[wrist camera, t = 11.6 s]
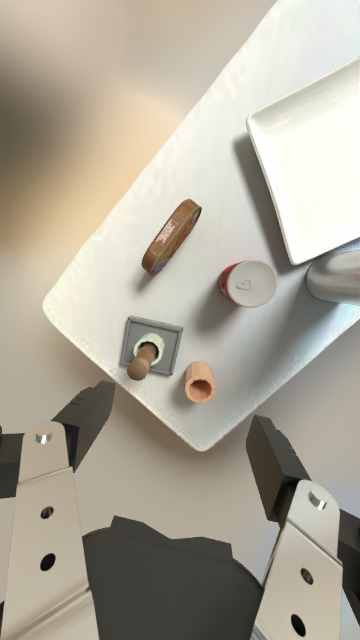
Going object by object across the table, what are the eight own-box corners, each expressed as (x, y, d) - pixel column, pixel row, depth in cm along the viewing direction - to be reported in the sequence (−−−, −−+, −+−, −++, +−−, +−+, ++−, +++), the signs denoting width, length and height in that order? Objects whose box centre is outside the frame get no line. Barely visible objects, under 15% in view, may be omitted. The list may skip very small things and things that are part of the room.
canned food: (212, 272, 43) (220, 270, 32) (249, 258, 42) (270, 250, 31) (224, 306, 44) (236, 315, 33) (260, 292, 43) (284, 297, 33)
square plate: (238, 131, 38) (244, 114, 34) (391, 51, 35) (416, 23, 31) (284, 268, 42) (294, 267, 39) (423, 209, 39) (448, 201, 35)
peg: (160, 340, 45) (148, 364, 33) (157, 354, 46) (144, 382, 33) (146, 337, 45) (128, 360, 33) (143, 351, 46) (125, 378, 33)
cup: (214, 364, 47) (218, 379, 40) (208, 387, 48) (211, 405, 41) (189, 358, 47) (189, 372, 40) (183, 382, 48) (182, 399, 41)
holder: (166, 336, 45) (164, 341, 41) (161, 360, 46) (159, 368, 42) (141, 330, 45) (136, 335, 41) (136, 354, 46) (131, 361, 42)
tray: (183, 327, 46) (182, 329, 44) (172, 371, 48) (172, 375, 46) (130, 315, 46) (128, 317, 44) (122, 360, 48) (120, 363, 46)
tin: (156, 276, 44) (148, 276, 35) (144, 267, 43) (134, 264, 35) (201, 217, 41) (205, 201, 33) (189, 206, 41) (189, 188, 32)
